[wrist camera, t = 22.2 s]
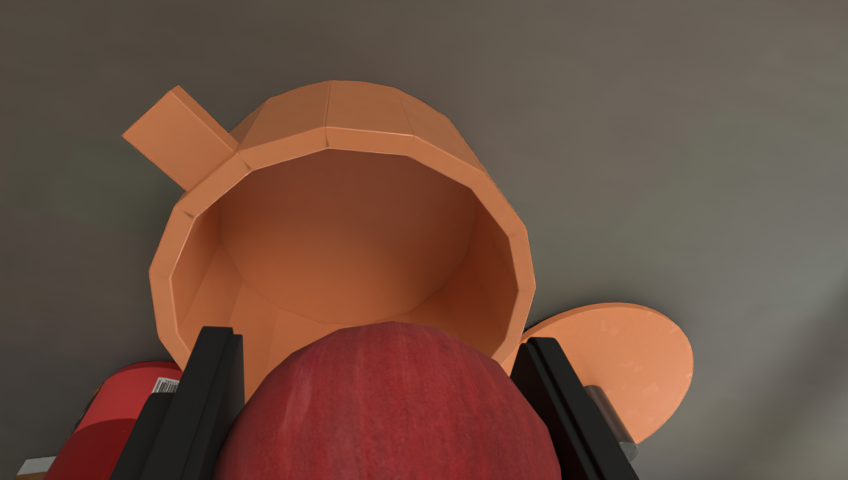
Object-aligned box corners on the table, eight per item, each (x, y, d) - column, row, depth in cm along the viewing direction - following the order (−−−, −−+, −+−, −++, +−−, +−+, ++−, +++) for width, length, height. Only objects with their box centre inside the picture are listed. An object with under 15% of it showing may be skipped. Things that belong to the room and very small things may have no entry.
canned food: (76, 367, 30) (-49, 553, 20) (208, 347, 31) (146, 518, 21) (125, 448, 34) (38, 636, 24) (241, 428, 34) (201, 604, 25)
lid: (632, 253, 32) (690, 311, 26) (712, 385, 39) (770, 450, 34) (430, 385, 35) (446, 461, 30) (541, 483, 43) (569, 557, 37)
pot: (328, -44, 21) (319, -51, 14) (553, 260, 31) (617, 350, 24) (95, 171, 24) (-13, 258, 17) (366, 386, 34) (371, 501, 27)
